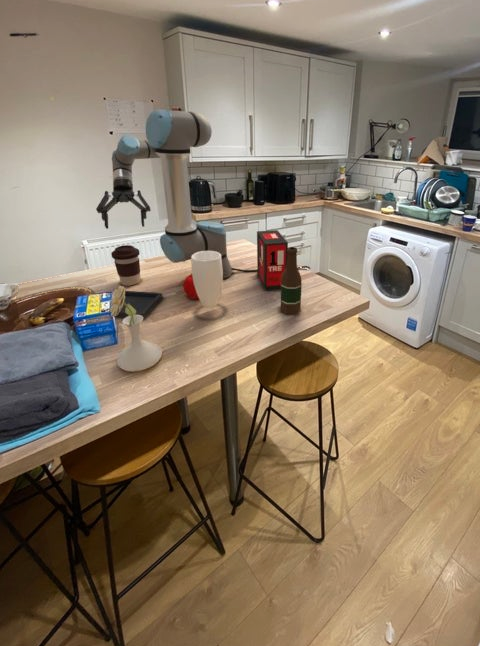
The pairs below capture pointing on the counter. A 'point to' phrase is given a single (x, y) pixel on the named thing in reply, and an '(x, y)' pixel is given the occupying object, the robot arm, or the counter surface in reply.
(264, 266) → the cleaning product box
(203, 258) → the cup
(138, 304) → the black square tray
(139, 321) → the flower in vase
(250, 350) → the counter surface
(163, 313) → the counter surface
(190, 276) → the fruit
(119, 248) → the coffee cup
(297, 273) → the beer bottle
